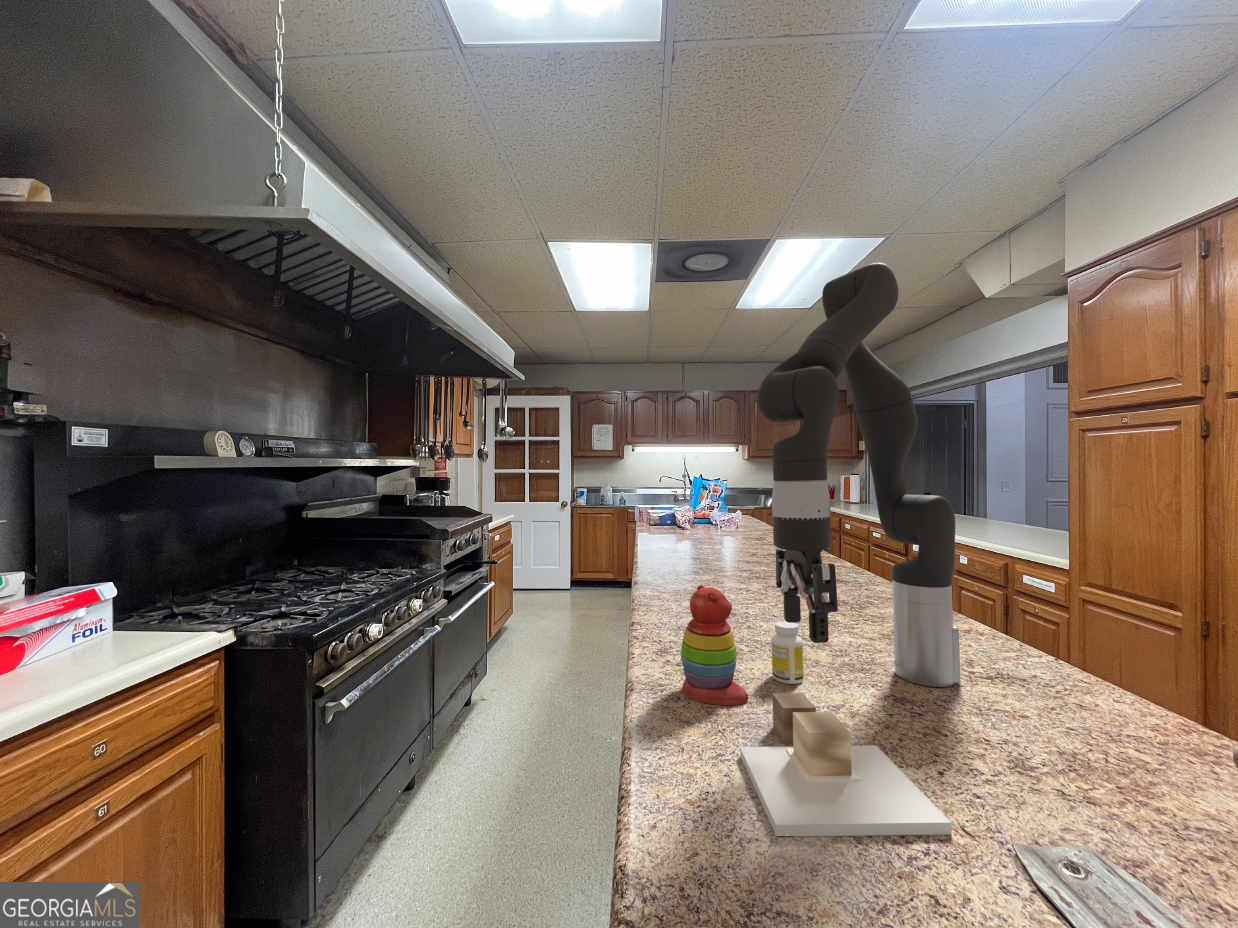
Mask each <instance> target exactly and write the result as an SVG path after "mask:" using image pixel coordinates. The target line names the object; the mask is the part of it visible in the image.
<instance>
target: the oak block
mask: <svg viewBox="0 0 1238 928" xmlns="http://www.w3.org/2000/svg"><path fill="white" fill-rule="evenodd" d="M851 736H852V734H851V731H850V730H849V729H848V728H847V727H846V726H845V725H844V723H842V721H841V720H840V719H839V718H838V717H837V716H836V715H835V714H834V713H833V712H832V711H816V712H793V744H792V745H793V746H792V747H793V750H794V753H795V755H796V756H797V758H798V759H799V761H800V762H801V764H802V765H803V767H804V768H805V770H806V772H807V773H808V775H809V776H852V765H851V746H852V737H851Z"/></svg>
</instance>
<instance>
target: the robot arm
mask: <svg viewBox="0 0 1238 928" xmlns="http://www.w3.org/2000/svg"><path fill="white" fill-rule="evenodd" d="M821 293H822V294H821V297H822V299H821V300H822V306H823V311H824V315H825V318H826V319H825V320H824V321H823V322H822V323H821V324H819V325H818V326H816V328H815V329H813V331H811V333H810V334H809V335H808V336H807V337H806V339H805V340H804V342H803V343H802V345H800V347H799V349H798V350H797V351H796V353H794V354H793V355H791V356H789V357H788V358H786V359H785V360H784V361H782V362H781V363H779V365H777V366H776V367H774V368H773V369H772V370H771V371H770V372H769V373H767V375H766V376H764V379H763V380H762V382H761V384H760V385H759V387H758V391H757V397H756V398H757V399H756V402H757V406H758V409H759V412H760V413H761V415H762V416H763V417H764V418H765V419H767V420H768V421H769V422H770V421H771V422H774V423H788V422H796V421H802V422H801V425H800V427H799V429H798V431H797V432H796V433H795V434H793V435H791V436H787V437H786V438H785V437H784V438H783V439H780V440H777V441H776V442H775V443H774V445H773V446H772V473H773V474H772V475H773V477H772V478H773V483H772V484H773V486H772V493H771V505H772V507H771V508H772V535H773V541H772V542H773V545H774V546H775V548H776V549H775V586H776V588H777V589H780V593H781V595H782V596H783V618H784V619H783V620H784V622H788V623H795V624H796V623H800V622H801V619H802V614H801V597H802V598H803V599H804V600H805V603H806V606H807V609H808V631H809V634H808V635H809V636H808V637H809V640H810V641H811V642H812V643H814V644H825V643H828V642H829V639H830V638H829V634H830V633H829V617H828V616H829V614H831V613H837V612H838V611H839V605H838V590H837V576H836V575H837V574H836V566H835V564H834V563H833V562H832V563H831V562H830V563H823V560H822V555H821V552H823V551H825V550H829V549H831V547H832V542H833V541H832V519H831V497H830V496H831V495H830V490H829V485H828V464H827V463H828V462H827V451H828V450H827V449H828V443H829V439H830V436H831V435H830V434H831V429H832V425H833V422H834V417H835V414H836V411H837V407H838V404H839V403H838V401H839V396H840V395H839V393H840V388H839V385H838V381H837V379H838V377H839V376H840V374H841V373H842V371H843V370H844V371H845V375H846V379H847V384H848V386H849V390H850V394H851V397H852V402H853V407H854V411H855V415H856V418H857V422H858V426H859V430H860V432H861V435H862V439H863V442H864V445H865V449H866V453H867V458H868V463H869V466H870V471H871V476H872V481H873V487H874V494H875V499H876V506H877V512H878V517H879V522H880V524H881V527H882V528H881V529H882V530H883V533H884V534H885V535H886V537H887V538H888V539H890V540H891V541H893V542H896V543H901V544H909V545H916V546H917V545H918V551H917V556H916V557H915V558H913V559H911V560H910V559H909V560H906V561H900V562H897V563H895V564H894V565H893V566H892V569H891V578H892V582H891V583H892V610H893V616H892V617H893V618H892V619H893V644H894V646H893V647H894V653H893V654H894V673H895V674H896V675H897V676H898V677H900V678H901V679H903V680H905V681H907V682H911V683H915V684H917V685H921V686H926V687H935V688H946V687H951V686H953V685H954V684H961V680H962V679H961V652H960V650H961V649H960V630H959V629H958V627H956V626H954V617H953V616H954V614H953V611H954V610H953V590H952V589H953V586H952V584H953V583H952V581H953V579H952V578H953V574H954V573H953V572H954V569H955V560H956V559H955V558H956V557H955V556H956V555H955V551H956V550H955V548H956V547H955V546H956V545H955V543H956V516H955V512H954V508H953V506H952V504H951V503H950V501H949V500H948V499H947V498H945V497H944V496H942V495H933V494H930V495H929V494H909V493H908V490H907V486H906V482H905V477H904V468H905V467H904V466H905V463H906V459H907V457H908V454H909V452H910V449H911V447H912V445H913V443H914V440H915V437H916V436H917V435H916V434H917V431H918V424H919V422H918V420H919V419H918V416H917V411H916V408H915V403H914V400H913V397H912V396H913V395H912V392H911V390H910V389H911V388H910V387H909V385H908V384H907V383H906V382H905V380H903V378H901V376H899V375H898V374H897V373H896V372H895V371H893V370H892V369H891V368H890V367H889V366H887V365H886V364H885V363H883V362H882V360H880V359H879V358H878V357H876V356H875V355H874V353H873V352H872V351H871V350H870V349H869V347H868V345H867V344H866V343H865V342H866V341H864V340H866V339H865V338H867V336H869V334H870V333H872V332H873V331H874V329H875V328H877V327H878V326H879V324H881V322H882V321H883V320H885V319H886V318H887V317H888V316H889V315H890V314H891V313H892V312H893V311H894V309H895V308H896V305H897V304H898V301H899V293H900V292H899V286H898V281H897V278H896V276H895V273H894V271H893V269H891V268H890V266H889V265H888V264H886V263H883V262H874V263H870V264H867V265H863V266H862V267H859V268H857V269H855V270H852V271H850V272H848V273H846V274H843V275H841V276H838V277H836V278H833V279H832V280H830V281H828V282H826V284H825V285H824V287H823V289H822V292H821Z"/></svg>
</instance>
